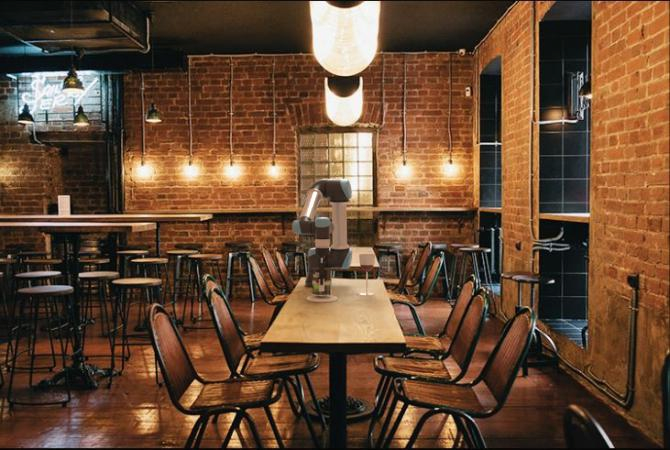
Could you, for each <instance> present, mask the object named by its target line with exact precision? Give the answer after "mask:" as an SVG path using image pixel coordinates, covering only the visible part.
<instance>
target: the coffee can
mask: <svg viewBox="0 0 670 450" xmlns="http://www.w3.org/2000/svg"><path fill="white" fill-rule="evenodd" d="M312 270H313V282H312V287H311V288H312V289H311V290H312V291H311V292H312V293H311V296H312V295H314V296H333V295H332V285H333V284H332V283H333V282H332V281H333V279H332V276H333V275H332V274H333V273H332V271H333V269H332V268H330V267H325V268H324V291H319V279H318V277H319V267H314V268H312Z"/></svg>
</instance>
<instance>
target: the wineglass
mask: <svg viewBox="0 0 670 450" xmlns="http://www.w3.org/2000/svg"><path fill="white" fill-rule="evenodd" d="M358 257H359V259H358V260H359V266H360V268H361V269H362V270H363V271H364V272H365V273H366V274H365V275H366V276H365V282H366V283H365V292H360V293H359V295H361V296H373V295H375V293H373V292H369V291H368V290H369V289H368V284H369V282H368V281H369V280H368V279H369V276H368V275H369V273H368V272H370V271H372V270H373V268H374V267H375V262H376V254H373V253H360V254H358Z"/></svg>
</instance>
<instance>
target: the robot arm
mask: <svg viewBox="0 0 670 450" xmlns="http://www.w3.org/2000/svg"><path fill="white" fill-rule="evenodd" d="M352 192H353V190H352V185H351V182H350V180H349V179H345V178H322V179H319V180H316V181H314V183H313V184H311V186H310V187H309V188H308V190H307V192H306V200H305V202H304V204H303V208H302V211H301V213H300V216H299V219H296V220H293V222H292V225H291V226H292V227H291V229H292V232H293V234H294V235H295V234H296V235H315V236H314V237H315V240H314V241H313V243H314V244H315V247H311V248H309V250H308V251H307V254H308V255H307V275H306V276H305V280H304V286H306V287H311V288H312V282H313V270H312V268H314V267H319V277H318V279H319V291H324V268H325V267H330V268H332V270H333V269H335V270H337V269H339V270H347V269H349V268H350V267H351V265H352V259H353V250H352V249H350V245H348V235H347V234H348V230H347V229H348V225H347V223H348V222H347V221H348V220H347V216H348V215H347V204H349V203H350V199H352V194H353V193H352ZM323 199H327V200H328V201H329V203H330V204H331V219H332V221H331V220H330V218H329V217H316V218H315V216H316V213H317V211H318V208H319V204H320V202H321V201H322V200H323ZM314 219H315V220H314ZM331 234H332V244H331V242H330V241H331V240H330V235H331Z"/></svg>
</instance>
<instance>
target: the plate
mask: <svg viewBox="0 0 670 450" xmlns="http://www.w3.org/2000/svg"><path fill="white" fill-rule="evenodd" d="M306 301H307V302H311V303H334V302H337V301H338V296H335V295H331V296H314V295H312V294H311V295H308V296H307V297H306Z"/></svg>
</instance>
